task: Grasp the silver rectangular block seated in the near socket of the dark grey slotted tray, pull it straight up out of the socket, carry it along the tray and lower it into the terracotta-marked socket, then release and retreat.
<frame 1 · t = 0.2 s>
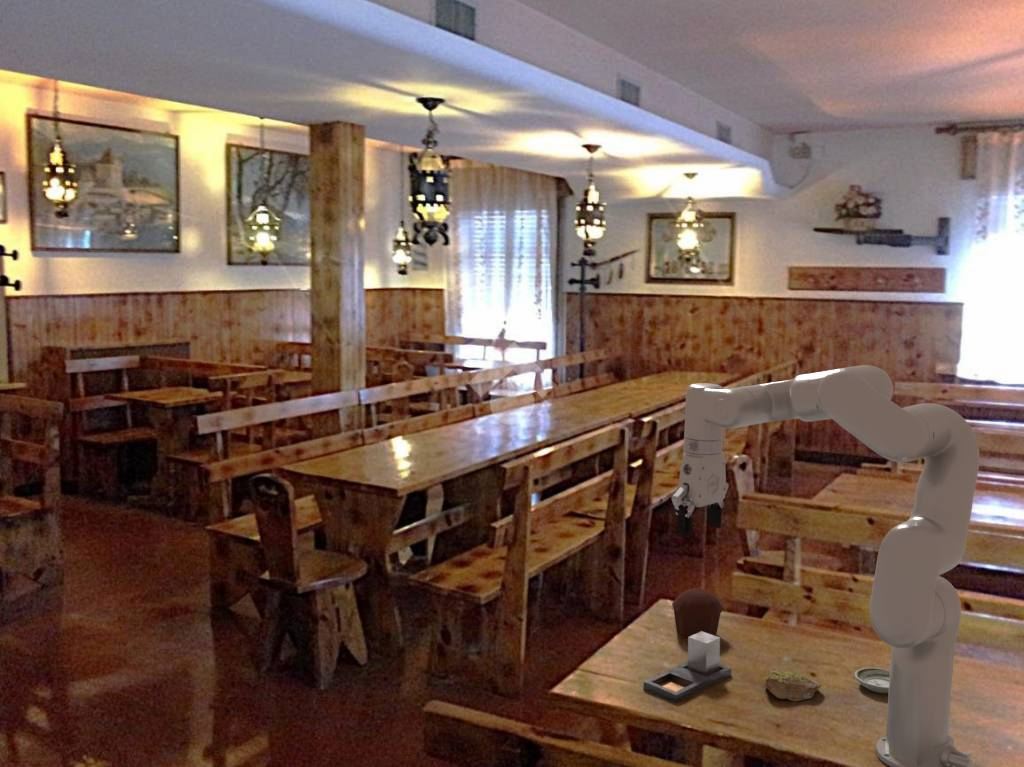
hand: (699, 530, 191), 30 cm above the table, fingers open, 9 cm apart
silver rectangular block: (703, 675, 194), resting in dark grey slotted tray
rock: (791, 692, 187), on the table
muffin: (696, 634, 216), on the table
dark grey slotted tray: (688, 682, 191), on the table
saucer: (879, 689, 189), on the table
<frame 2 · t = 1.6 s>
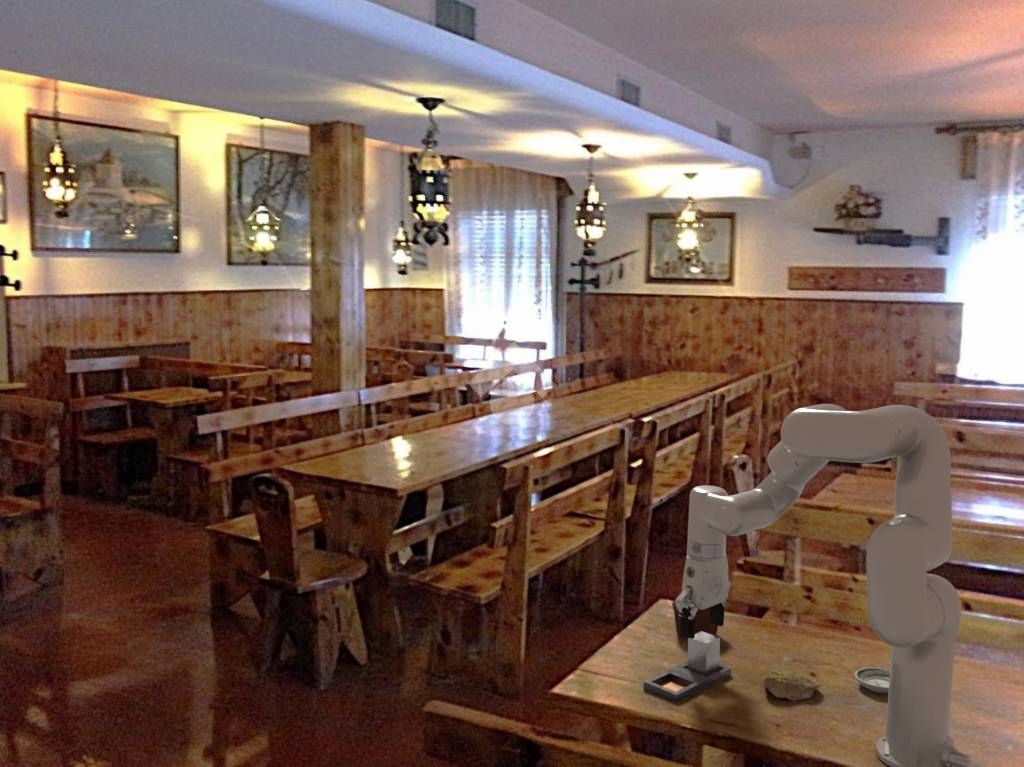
hand: (702, 630, 193), 9 cm above the table, fingers open, 9 cm apart
nothing on the table moved.
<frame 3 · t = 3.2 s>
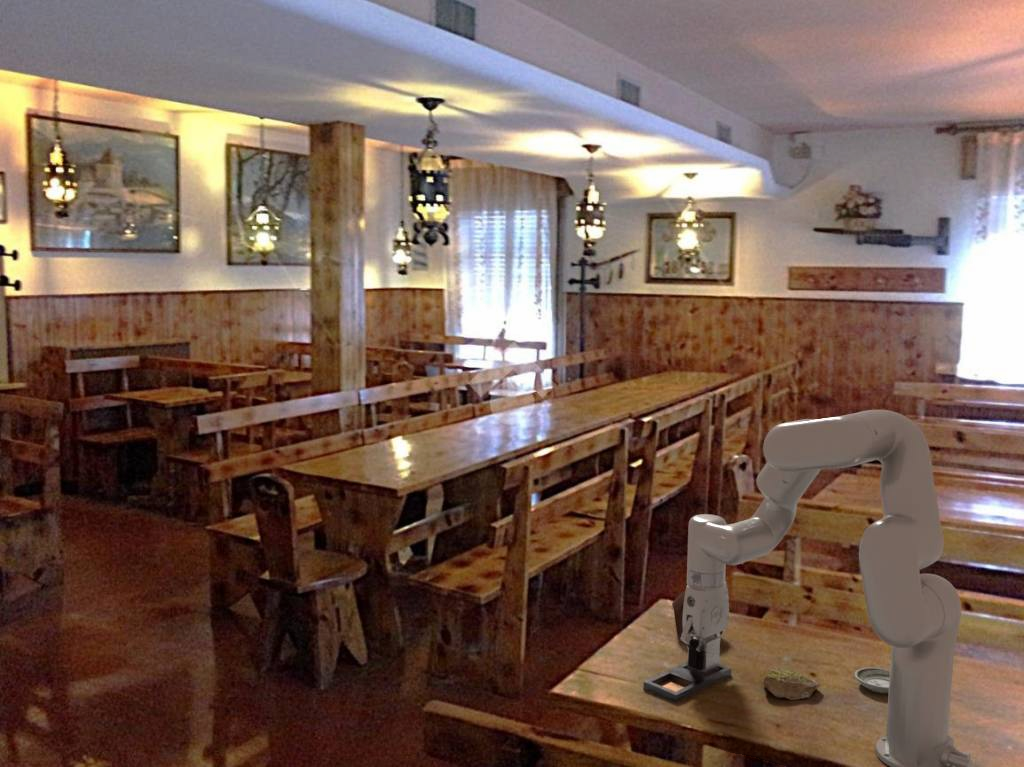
hand: (703, 663, 194), 2 cm above the table, fingers closed on silver rectangular block, 4 cm apart
silver rectangular block: (702, 674, 194), resting in dark grey slotted tray, touching gripper
everything else where it was.
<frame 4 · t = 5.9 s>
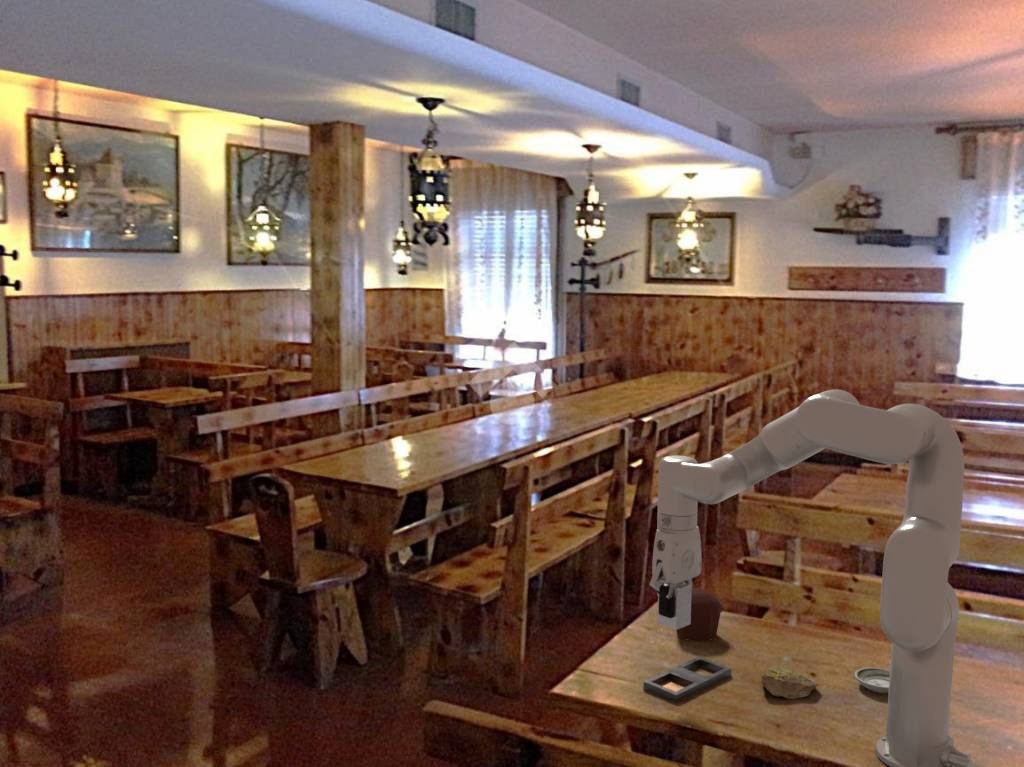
hand: (674, 611, 185), 16 cm above the table, fingers closed on silver rectangular block, 4 cm apart
silver rectangular block: (673, 623, 186), point 13 cm above the table, touching gripper
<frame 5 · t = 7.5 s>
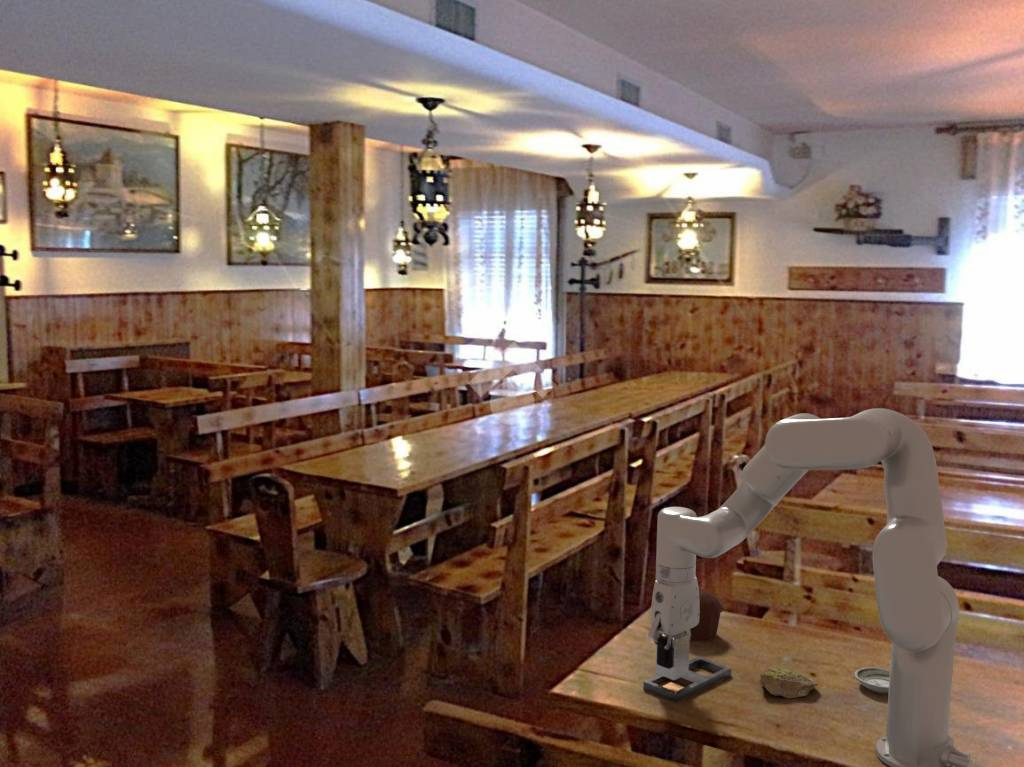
hand: (672, 661, 187), 6 cm above the table, fingers closed on silver rectangular block, 4 cm apart
silver rectangular block: (671, 673, 187), point 3 cm above the table, touching gripper
when the fingers open (3 cm above the table, at t = 8.8 s): silver rectangular block stays where it is, resting on dark grey slotted tray.
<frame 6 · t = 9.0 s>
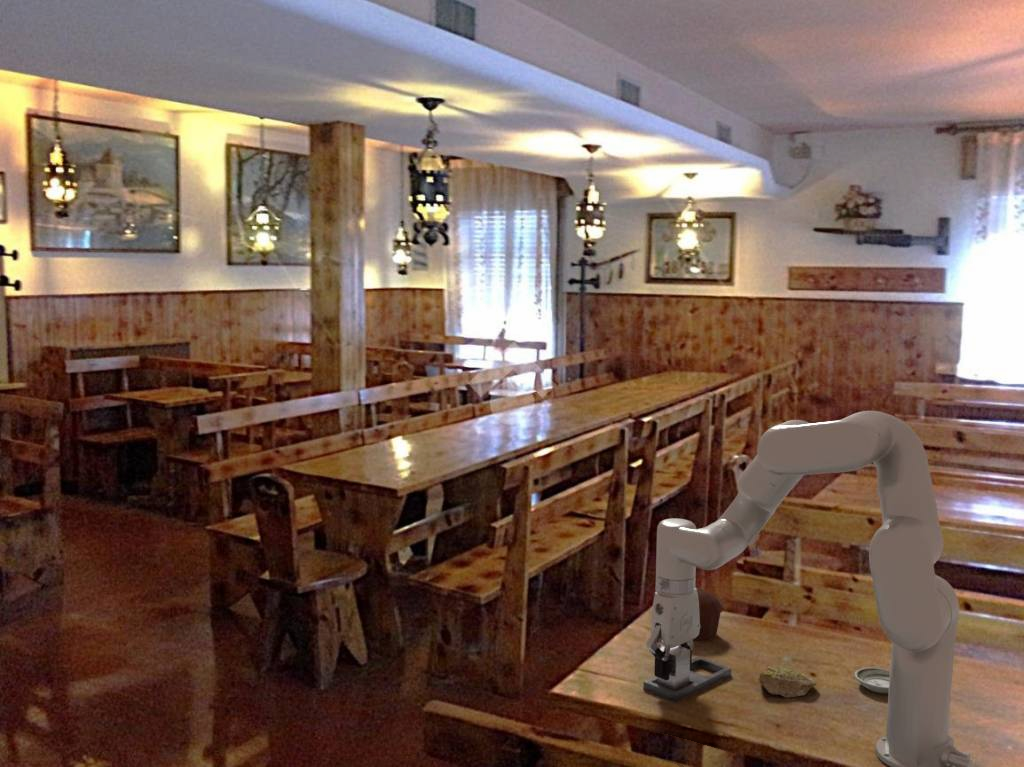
hand: (673, 672, 187), 4 cm above the table, fingers open, 6 cm apart
silver rectangular block: (672, 688, 187), resting on dark grey slotted tray
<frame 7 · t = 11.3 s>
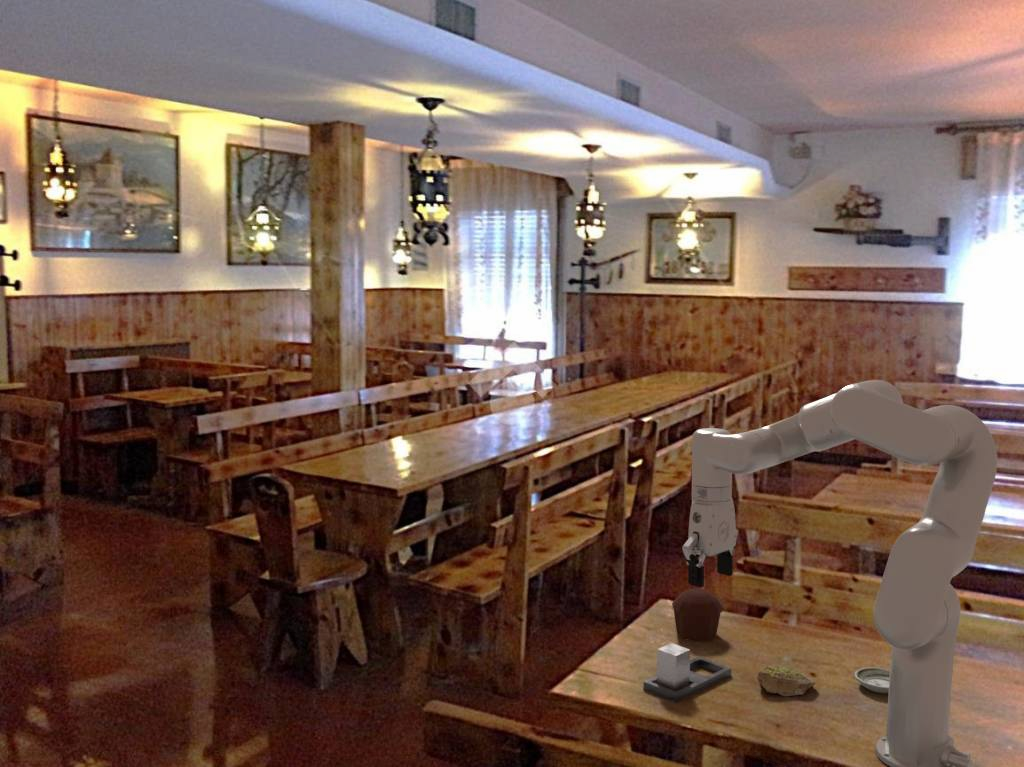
hand: (710, 579, 186), 22 cm above the table, fingers open, 9 cm apart
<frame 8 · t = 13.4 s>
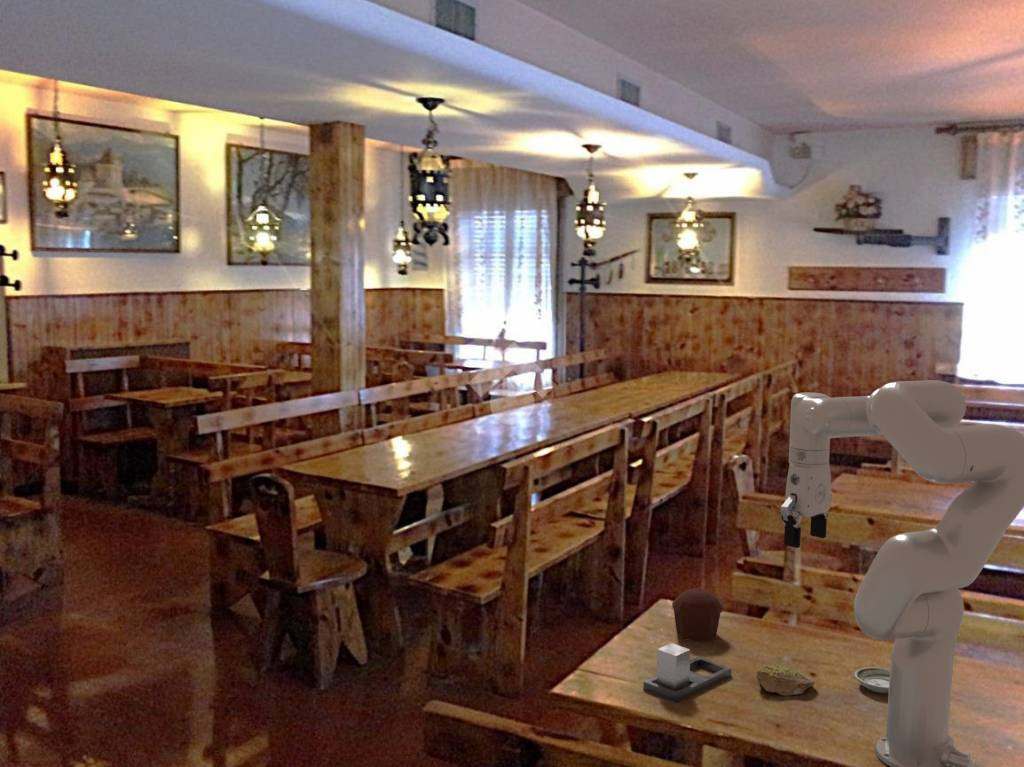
hand: (805, 541, 189), 28 cm above the table, fingers open, 9 cm apart
at the end: silver rectangular block 0.1 cm from the target spot on the dark grey slotted tray, point 0.2 cm above the dark grey slotted tray's base; silver rectangular block tilted 0°; the gripper is holding nothing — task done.
